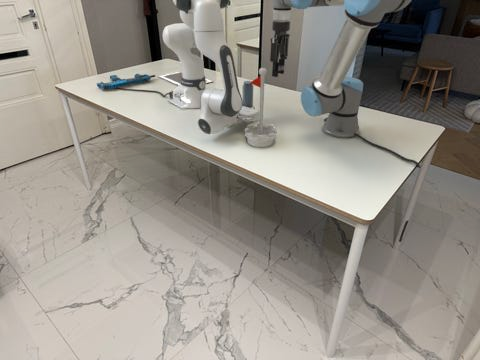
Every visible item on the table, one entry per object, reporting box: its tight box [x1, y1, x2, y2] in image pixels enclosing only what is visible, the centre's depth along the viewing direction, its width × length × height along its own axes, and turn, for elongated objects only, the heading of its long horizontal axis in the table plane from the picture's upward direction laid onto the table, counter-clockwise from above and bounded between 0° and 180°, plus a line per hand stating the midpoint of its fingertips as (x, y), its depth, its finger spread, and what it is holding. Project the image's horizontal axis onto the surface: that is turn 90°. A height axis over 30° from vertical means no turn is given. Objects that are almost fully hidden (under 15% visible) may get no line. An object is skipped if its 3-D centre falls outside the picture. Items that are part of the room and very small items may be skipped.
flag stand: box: [244, 67, 278, 148], centre depth 133 cm, size 13×13×30 cm
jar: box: [241, 80, 254, 123], centre depth 155 cm, size 5×5×18 cm
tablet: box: [157, 70, 214, 86], centre depth 214 cm, size 32×20×1 cm, turn 41°
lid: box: [278, 64, 285, 71], centre depth 157 cm, size 5×5×2 cm
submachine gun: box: [96, 73, 156, 91], centre depth 208 cm, size 34×4×25 cm
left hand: (248, 106), depth 157 cm, fingers closed on jar, 5 cm apart
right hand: (278, 74), depth 158 cm, fingers closed on lid, 5 cm apart
